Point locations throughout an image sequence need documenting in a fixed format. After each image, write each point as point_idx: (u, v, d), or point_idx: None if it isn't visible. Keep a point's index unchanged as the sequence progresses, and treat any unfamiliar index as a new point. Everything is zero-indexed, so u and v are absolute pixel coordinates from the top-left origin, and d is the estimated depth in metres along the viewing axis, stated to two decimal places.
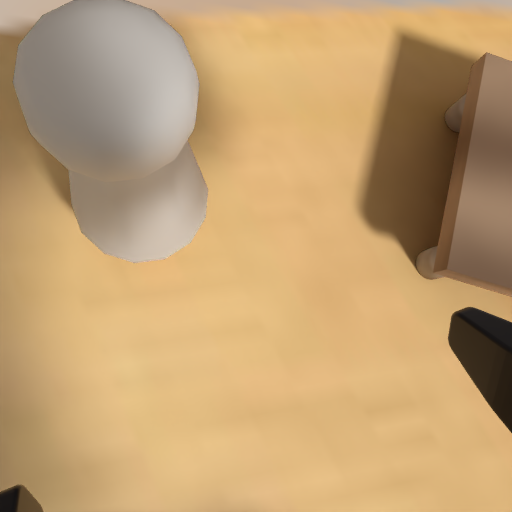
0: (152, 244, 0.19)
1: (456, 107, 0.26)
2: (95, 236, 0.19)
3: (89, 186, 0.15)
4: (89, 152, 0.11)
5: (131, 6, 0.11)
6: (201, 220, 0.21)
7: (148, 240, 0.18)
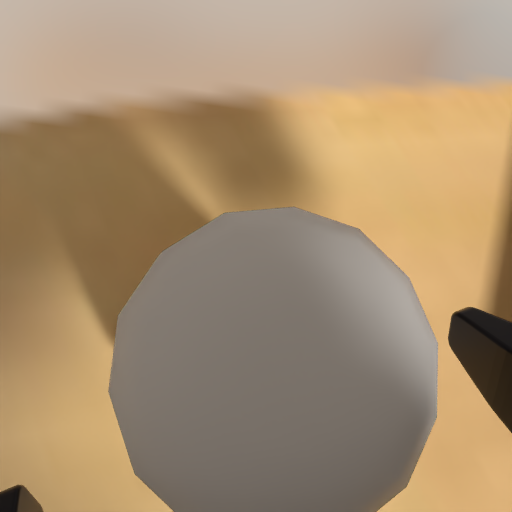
0: None
1: None
2: None
3: None
4: None
5: (329, 235, 0.06)
6: None
7: None
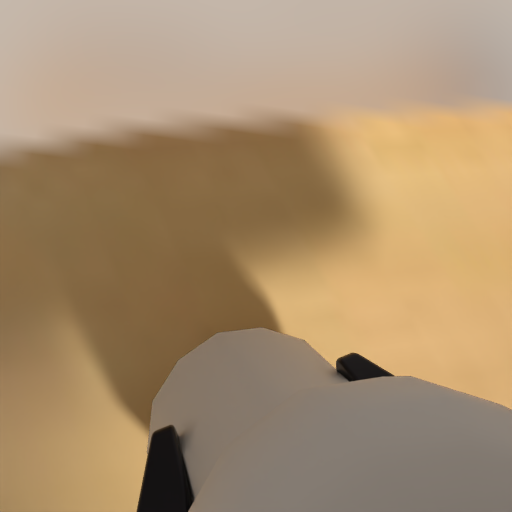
0: None
1: None
2: None
3: None
4: None
5: None
6: None
7: None
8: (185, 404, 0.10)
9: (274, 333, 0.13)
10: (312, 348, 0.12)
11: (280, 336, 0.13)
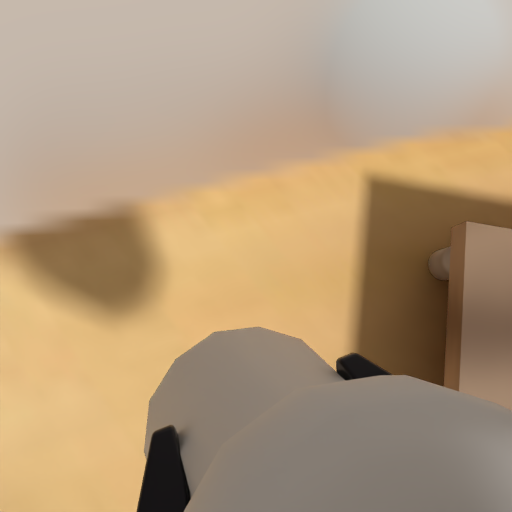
0: None
1: (440, 262, 0.24)
2: None
3: None
4: None
5: None
6: None
7: None
8: (182, 403, 0.10)
9: (271, 332, 0.13)
10: (309, 347, 0.13)
11: (277, 335, 0.13)
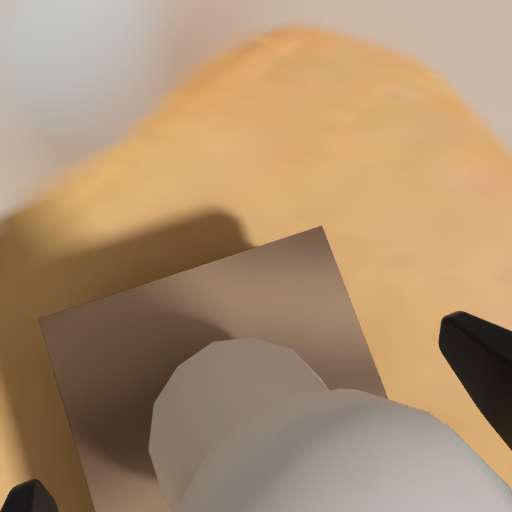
0: None
1: None
2: None
3: None
4: None
5: (425, 452, 0.05)
6: None
7: None
8: (183, 407, 0.11)
9: (265, 343, 0.15)
10: (298, 357, 0.14)
11: (270, 346, 0.14)
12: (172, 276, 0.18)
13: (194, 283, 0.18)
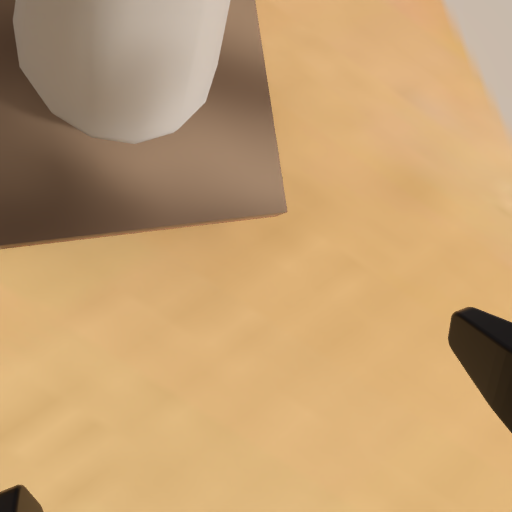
0: (129, 106, 0.12)
1: None
2: (42, 71, 0.12)
3: None
4: None
5: None
6: (201, 101, 0.14)
7: (127, 95, 0.12)
8: None
9: None
10: None
11: None
12: None
13: None
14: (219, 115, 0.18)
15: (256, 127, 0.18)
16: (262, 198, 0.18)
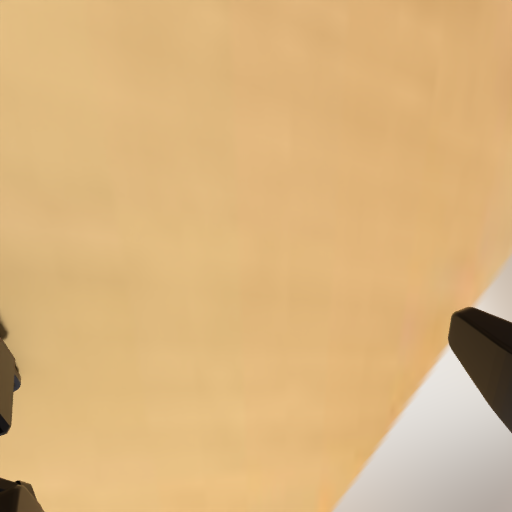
0: None
1: None
2: None
3: None
4: None
5: None
6: None
7: None
8: None
9: None
10: None
11: None
12: None
13: None
14: None
15: None
16: None
